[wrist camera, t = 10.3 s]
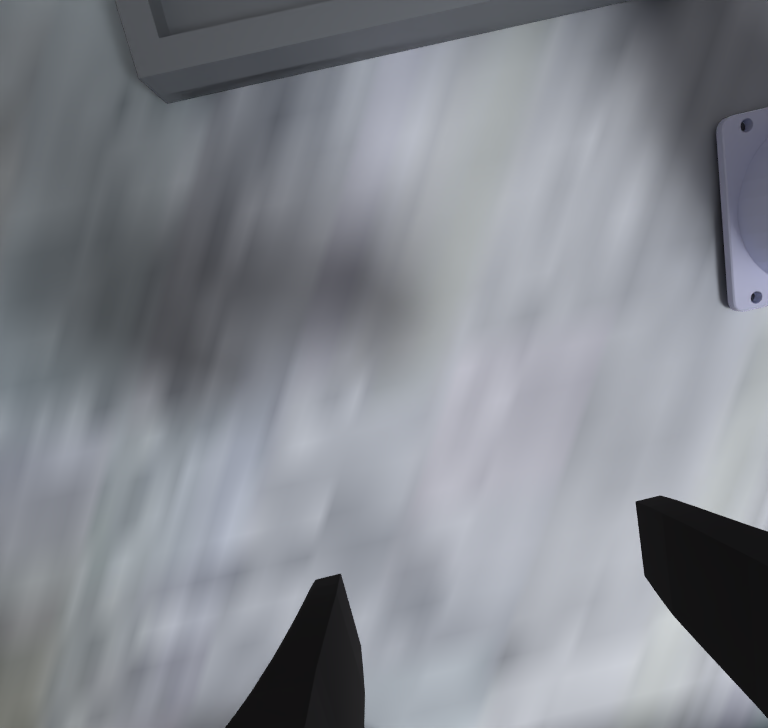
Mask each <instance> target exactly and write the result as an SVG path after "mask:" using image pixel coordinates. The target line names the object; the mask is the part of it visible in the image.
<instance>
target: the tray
mask: <svg viewBox="0 0 768 728" xmlns="http://www.w3.org/2000/svg"><path fill="white" fill-rule="evenodd" d="M626 1H630V0H115V2H116V6H117V9H118V12H119V15H120V19H121V22H122V25H123V29H124V32H125V35H126V38H127V42H128V45H129V48H130V51H131V55H132V58H133V61H134V65H135V68H136V71H137V74H138V78H139V79H140V80H141V81H142V82H143V83H145V84H146V85H147V86H148V87H149V88H150V89H151V90H153V91H154V92H155V93H156V94H157V95H158V96H159V97H160V98H162V99H163V100H164V101H165V102H166V103H172V102H176V101H181V100H185V99H190V98H194V97H199V96H203V95H208V94H212V93H217V92H221V91H226V90H230V89H235V88H239V87H244V86H248V85H253V84H257V83H262V82H266V81H271V80H275V79H280V78H284V77H289V76H293V75H298V74H302V73H307V72H311V71H316V70H320V69H325V68H329V67H334V66H338V65H343V64H347V63H352V62H356V61H361V60H365V59H370V58H374V57H379V56H383V55H388V54H392V53H397V52H401V51H406V50H410V49H415V48H419V47H424V46H428V45H433V44H437V43H442V42H446V41H451V40H455V39H460V38H464V37H469V36H473V35H478V34H482V33H487V32H491V31H496V30H500V29H505V28H509V27H514V26H518V25H523V24H527V23H532V22H536V21H541V20H545V19H550V18H554V17H559V16H563V15H568V14H572V13H577V12H581V11H585V10H590V9H594V8H599V7H603V6H608V5H612V4H617V3H621V2H626Z"/></svg>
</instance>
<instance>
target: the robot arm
mask: <svg viewBox="0 0 768 728" xmlns="http://www.w3.org/2000/svg"><path fill="white" fill-rule="evenodd" d="M741 122H743V123H744V124H745V130H744V132H743V131H742V130H741V127H740V126H741ZM716 137H717V151H718V165H719V180H720V194H721V209H722V223H723V238H724V252H725V267H726V281H727V295H728V304H729V307H730V308H731V309H732V310H735V311H749V310H753V309H757V308H761V307H765V306H768V107H766V108H762V109H757V110H753V111H749V112H744V113H740V114H735V115H732V116H729V117H727V118H725V119H723V120H722V121H721V122H720V123H719V124H718V126H717V131H716ZM753 293H754V294H755V297H754V300H753V301H752V302H751V295H752V294H753ZM636 510H637V518H638V526H639V534H640V542H641V551H642V559H643V567H644V575H645V577H646V578H647V580H648V581H649V583H650V584H651V586H652V587H653V588H654V590H655V591H656V593H657V594H658V596H659V597H660V598H661V600H662V601H663V602H664V604H665V605H666V606H667V608H668V609H669V610H670V612H671V613H672V614H673V616H674V617H675V618H676V619H677V620H678V621H679V622H680V623H681V625H682V626H683V627H684V628H685V629H686V630H687V631H688V632H689V633H690V634H691V635H692V637H693V638H694V639H695V640H696V641H697V642H698V643H699V644H700V645H701V646H702V647H703V649H704V650H705V651H706V652H707V653H708V654H709V655H710V656H711V657H712V658H713V659H714V660H715V661H716V663H717V664H718V665H719V666H720V667H721V668H722V669H723V670H724V671H725V672H726V673H727V674H728V675H729V677H730V678H731V679H732V680H733V681H734V682H735V683H736V684H737V685H738V686H739V687H740V688H741V689H742V691H743V692H744V693H745V694H746V695H747V696H748V697H749V698H750V699H751V700H752V701H753V702H754V703H755V705H756V706H757V707H758V708H759V709H760V710H761V711H762V712H763V714H764V715H765V716H766V717H767V718H768V532H767V531H764V530H761V529H758V528H755V527H752V526H749V525H746V524H744V523H741V522H738V521H735V520H732V519H729V518H726V517H723V516H721V515H718V514H715V513H712V512H709V511H706V510H704V509H701V508H698V507H695V506H692V505H689V504H686V503H683V502H680V501H677V500H674V499H671V498H667V497H664V496H656V497H652V498H648V499H644V500H640V501H636ZM364 710H365V688H364V675H363V664H362V652H361V644H360V641H359V637H358V634H357V630H356V626H355V623H354V619H353V616H352V612H351V609H350V605H349V601H348V598H347V594H346V591H345V587H344V583H343V580H342V576H341V574H337V575H333V576H329V577H325V578H321V579H317V580H315V582H314V583H313V585H312V586H311V588H310V590H309V592H308V594H307V596H306V598H305V600H304V602H303V604H302V606H301V608H300V610H299V612H298V614H297V616H296V618H295V619H294V621H293V623H292V625H291V627H290V629H289V630H288V632H287V634H286V636H285V638H284V639H283V641H282V643H281V645H280V646H279V648H278V650H277V652H276V653H275V655H274V657H273V658H272V660H271V662H270V663H269V665H268V666H267V668H266V669H265V671H264V673H263V674H262V676H261V677H260V679H259V681H258V682H257V684H256V685H255V687H254V688H253V690H252V691H251V693H250V694H249V696H248V697H247V699H246V700H245V702H244V703H243V704H242V706H241V707H240V709H239V710H238V711H237V713H236V714H235V715H234V717H233V718H232V719H231V721H230V722H229V723H228V725H227V726H226V727H225V728H364Z"/></svg>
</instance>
